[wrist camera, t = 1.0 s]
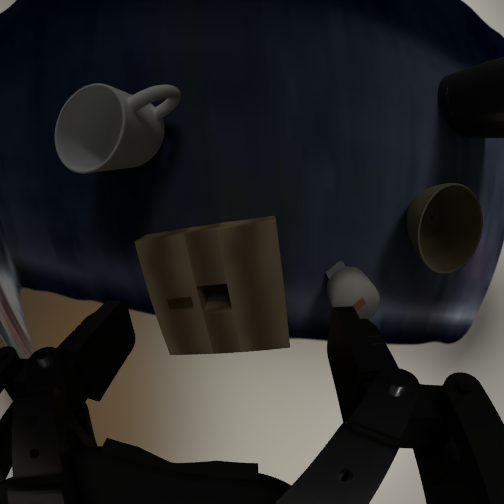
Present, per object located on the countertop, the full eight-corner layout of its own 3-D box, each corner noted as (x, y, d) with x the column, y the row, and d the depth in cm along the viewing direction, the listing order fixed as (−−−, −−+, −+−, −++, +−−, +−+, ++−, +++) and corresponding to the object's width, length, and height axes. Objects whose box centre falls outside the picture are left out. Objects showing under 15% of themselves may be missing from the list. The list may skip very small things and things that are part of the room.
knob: (342, 246, 32) (364, 273, 24) (364, 273, 33) (388, 305, 25) (312, 272, 33) (325, 305, 25) (334, 297, 34) (351, 334, 26)
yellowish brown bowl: (377, 234, 31) (402, 254, 24) (409, 162, 28) (441, 165, 21) (430, 264, 32) (458, 286, 25) (460, 200, 29) (493, 210, 22)
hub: (274, 215, 31) (276, 221, 28) (288, 333, 36) (290, 348, 33) (144, 235, 33) (133, 242, 29) (176, 342, 37) (169, 356, 34)
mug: (179, 73, 26) (144, 42, 16) (206, 131, 28) (179, 118, 19) (99, 124, 28) (46, 118, 18) (121, 179, 30) (70, 190, 21)
